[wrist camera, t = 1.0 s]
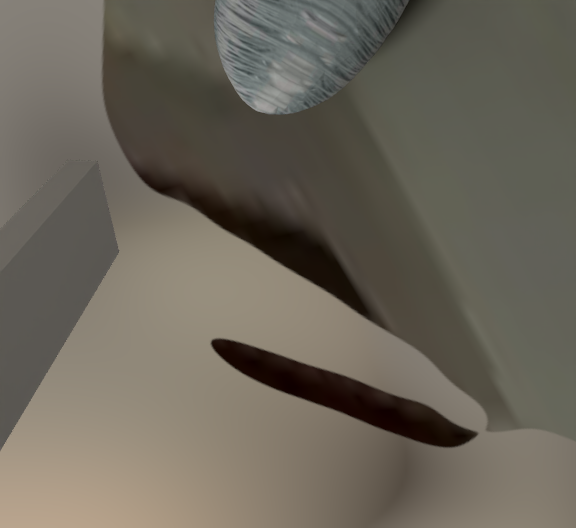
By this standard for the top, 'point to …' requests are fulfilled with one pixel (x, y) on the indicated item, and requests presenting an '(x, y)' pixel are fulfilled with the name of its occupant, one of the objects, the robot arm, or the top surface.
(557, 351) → the top surface
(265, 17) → the grey streaked egg shape
